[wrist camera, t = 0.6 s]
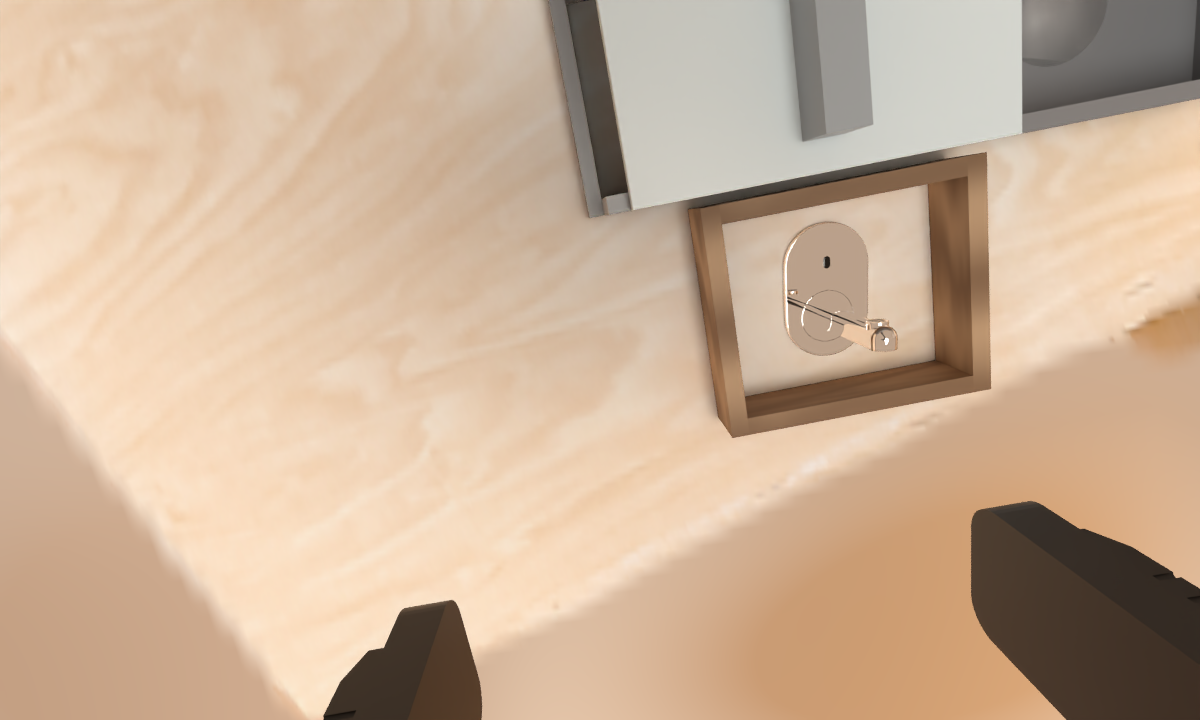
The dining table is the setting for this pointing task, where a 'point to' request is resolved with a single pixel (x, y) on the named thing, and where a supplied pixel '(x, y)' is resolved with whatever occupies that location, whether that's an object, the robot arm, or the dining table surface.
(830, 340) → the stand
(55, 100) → the dining table surface
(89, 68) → the dining table surface
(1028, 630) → the robot arm
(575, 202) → the dining table surface
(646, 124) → the lid
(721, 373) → the parts frame
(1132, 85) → the frame
